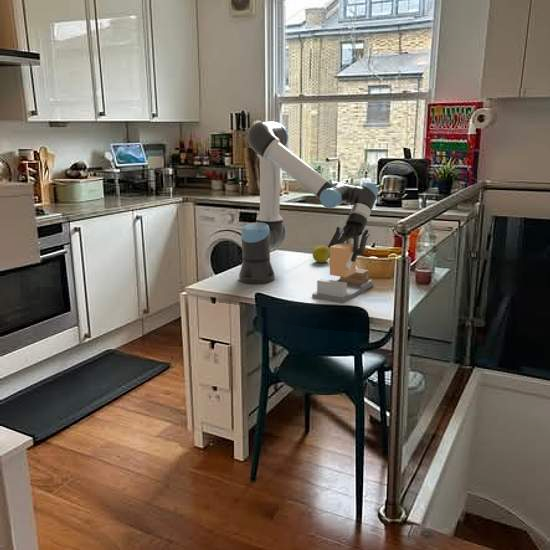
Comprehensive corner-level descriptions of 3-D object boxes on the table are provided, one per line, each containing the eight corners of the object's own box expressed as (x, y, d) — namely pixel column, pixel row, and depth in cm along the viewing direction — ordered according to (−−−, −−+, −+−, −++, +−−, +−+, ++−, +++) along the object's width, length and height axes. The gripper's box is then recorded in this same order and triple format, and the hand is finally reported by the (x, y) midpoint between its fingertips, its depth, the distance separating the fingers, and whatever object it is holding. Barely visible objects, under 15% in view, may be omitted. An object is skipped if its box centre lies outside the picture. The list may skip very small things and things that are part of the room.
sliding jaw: (346, 278, 227) (346, 266, 226) (368, 282, 222) (368, 270, 220) (340, 281, 223) (340, 269, 222) (362, 285, 218) (362, 273, 216)
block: (339, 270, 217) (339, 242, 214) (355, 272, 213) (356, 244, 210) (329, 274, 211) (329, 246, 208) (346, 277, 207) (346, 248, 204)
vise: (344, 280, 230) (344, 265, 228) (373, 285, 223) (373, 270, 221) (312, 297, 209) (312, 281, 208) (342, 303, 202) (342, 286, 200)
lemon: (320, 265, 254) (320, 248, 252) (308, 262, 260) (308, 246, 258) (335, 261, 261) (336, 245, 259) (323, 258, 267) (324, 242, 265)
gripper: (384, 225, 214) (365, 275, 206) (339, 221, 225) (319, 268, 217) (379, 213, 208) (359, 264, 200) (332, 210, 219) (312, 258, 211)
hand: (338, 266), depth 208 cm, fingers closed on block, 7 cm apart
